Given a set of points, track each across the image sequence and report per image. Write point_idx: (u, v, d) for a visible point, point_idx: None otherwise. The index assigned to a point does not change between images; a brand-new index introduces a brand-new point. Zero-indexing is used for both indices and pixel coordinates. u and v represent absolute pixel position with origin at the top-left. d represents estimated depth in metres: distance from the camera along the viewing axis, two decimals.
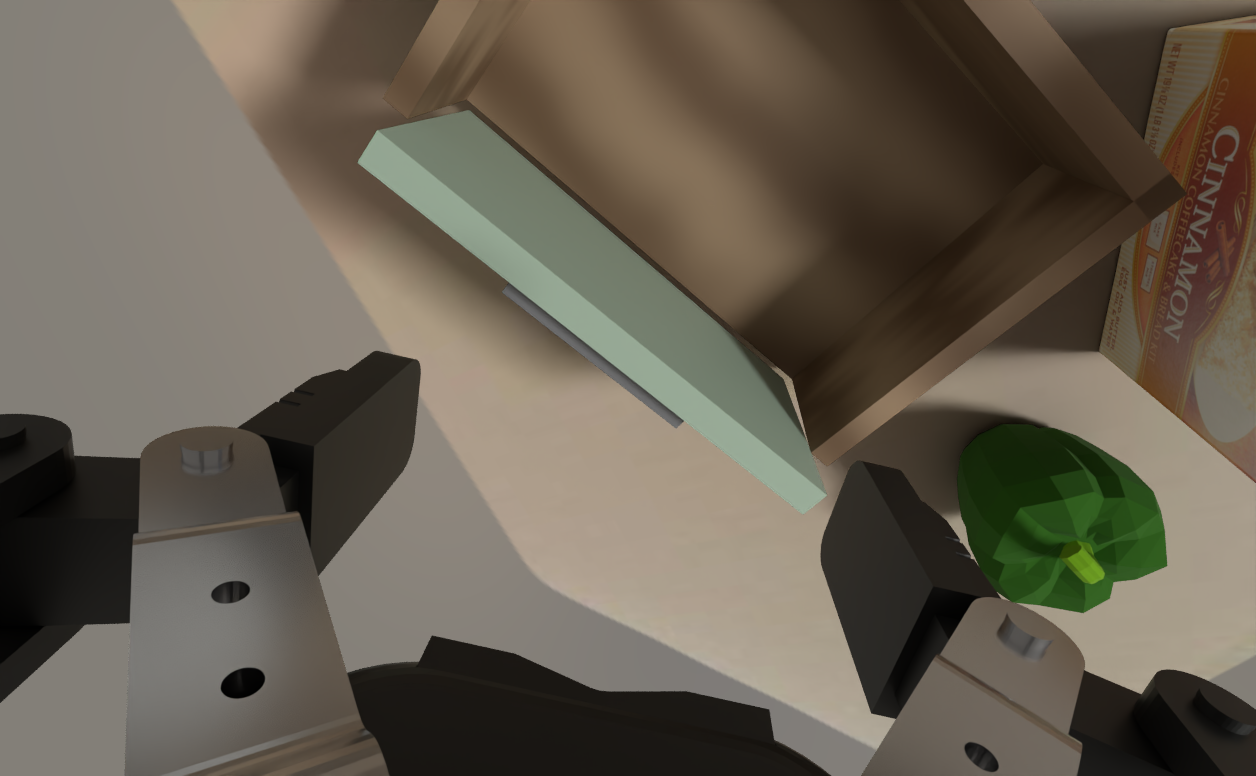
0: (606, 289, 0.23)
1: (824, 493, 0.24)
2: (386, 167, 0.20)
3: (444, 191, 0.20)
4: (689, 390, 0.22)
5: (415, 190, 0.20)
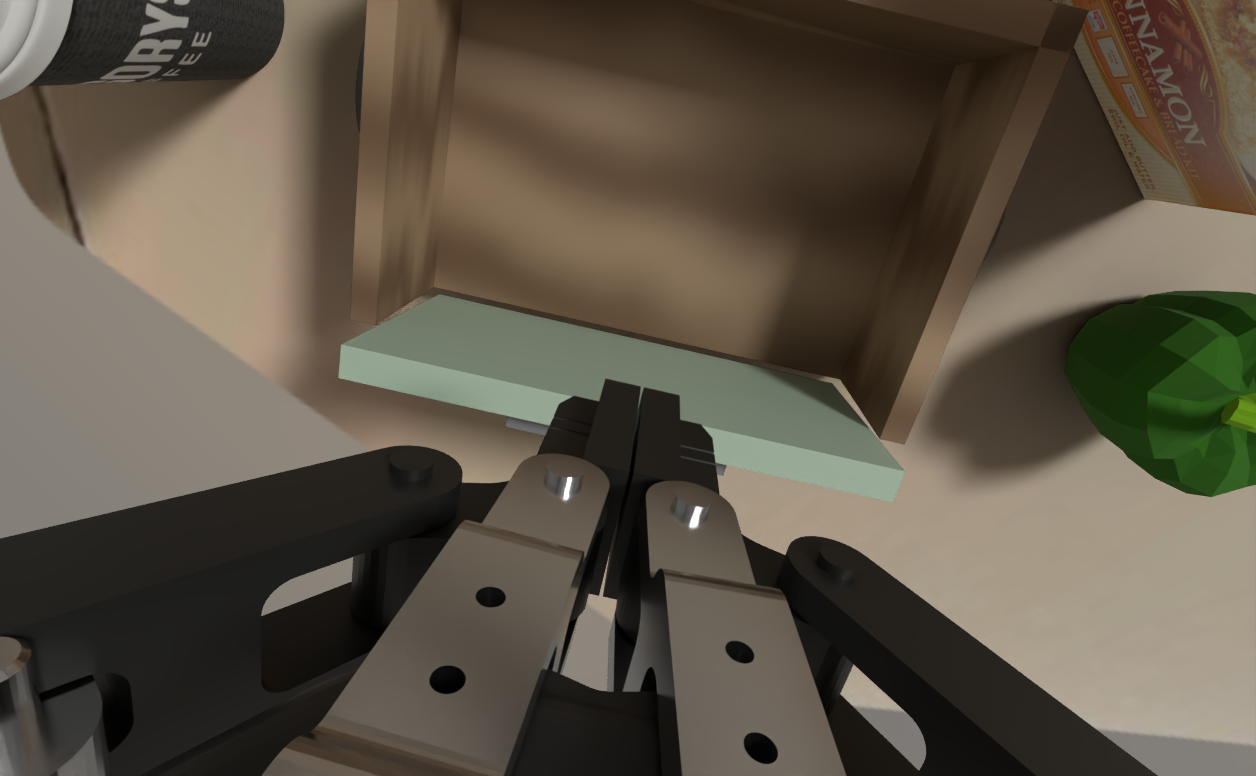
0: (598, 380, 0.24)
1: (901, 471, 0.22)
2: (361, 370, 0.22)
3: (413, 366, 0.22)
4: (709, 432, 0.22)
5: (391, 376, 0.22)
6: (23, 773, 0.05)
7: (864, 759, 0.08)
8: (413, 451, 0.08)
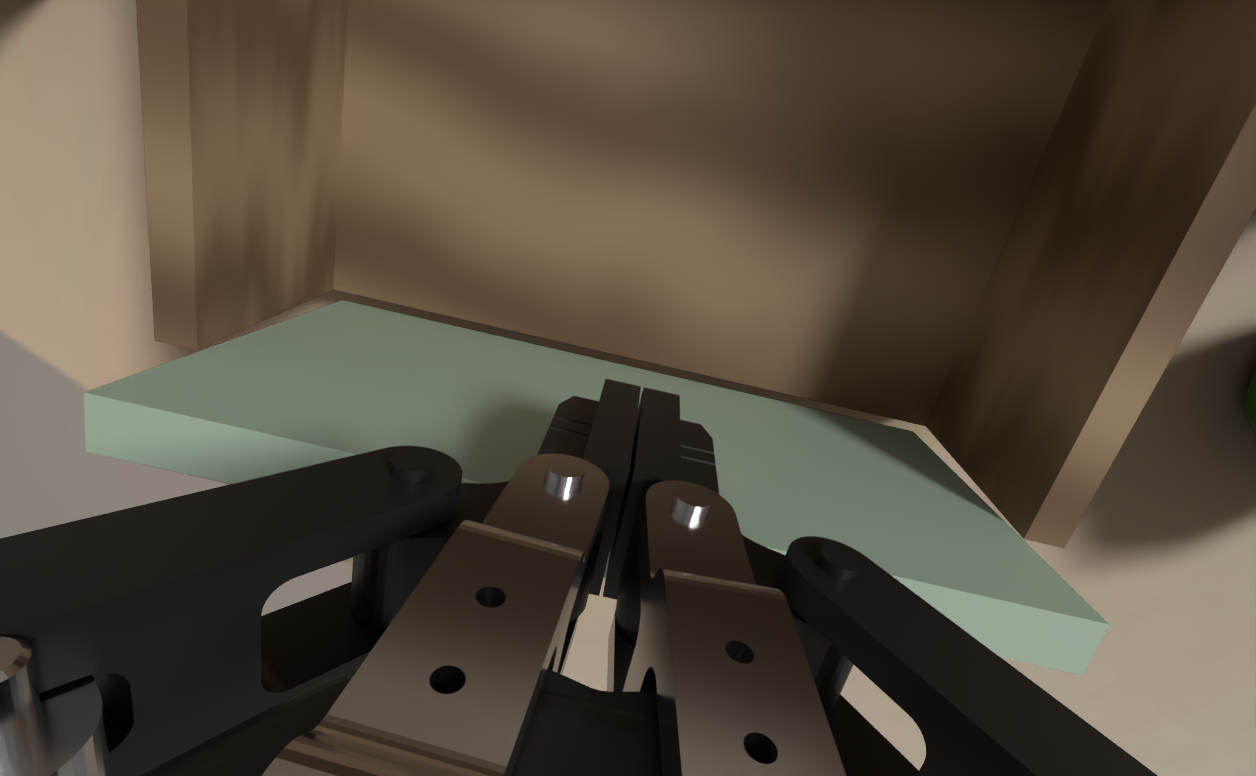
0: None
1: (1102, 623, 0.12)
2: (125, 438, 0.12)
3: (218, 432, 0.12)
4: None
5: (180, 450, 0.12)
6: (23, 773, 0.05)
7: (864, 759, 0.08)
8: (413, 451, 0.08)
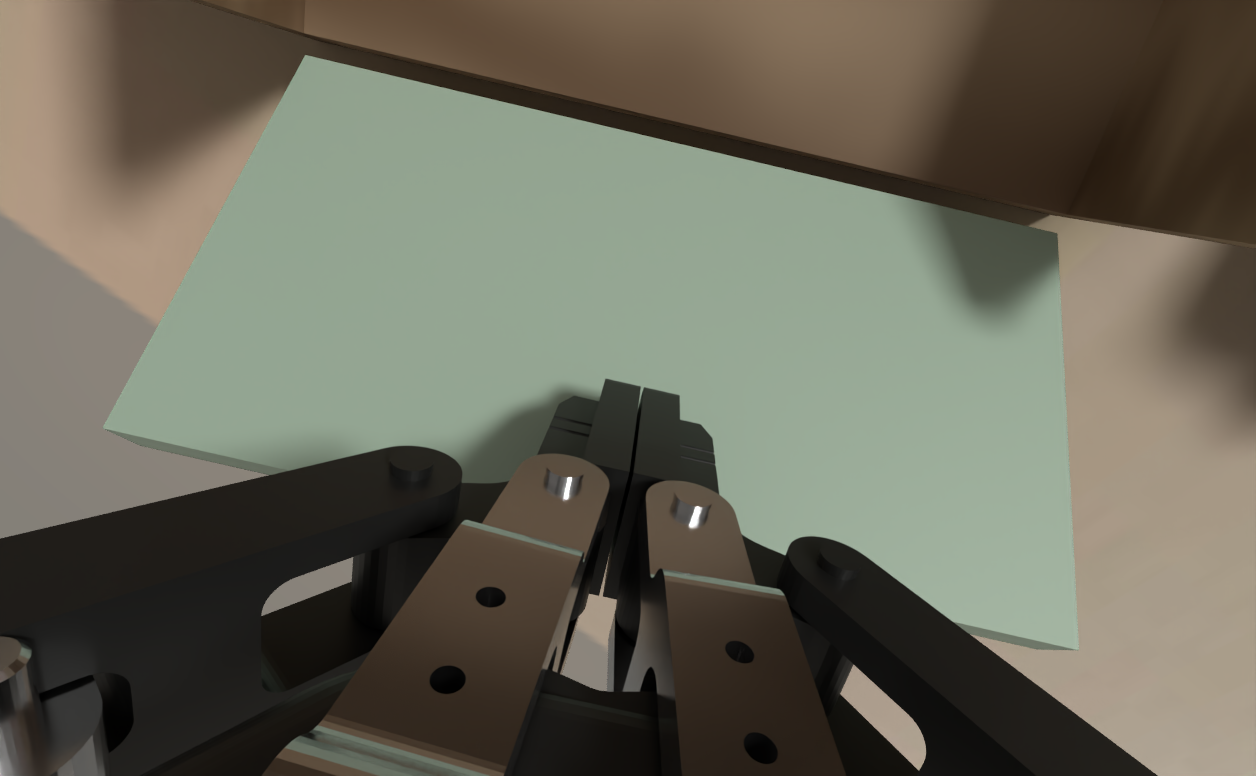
0: None
1: (1072, 647, 0.13)
2: (163, 447, 0.13)
3: (235, 459, 0.13)
4: None
5: (213, 459, 0.13)
6: (23, 773, 0.05)
7: (864, 759, 0.08)
8: (413, 451, 0.08)
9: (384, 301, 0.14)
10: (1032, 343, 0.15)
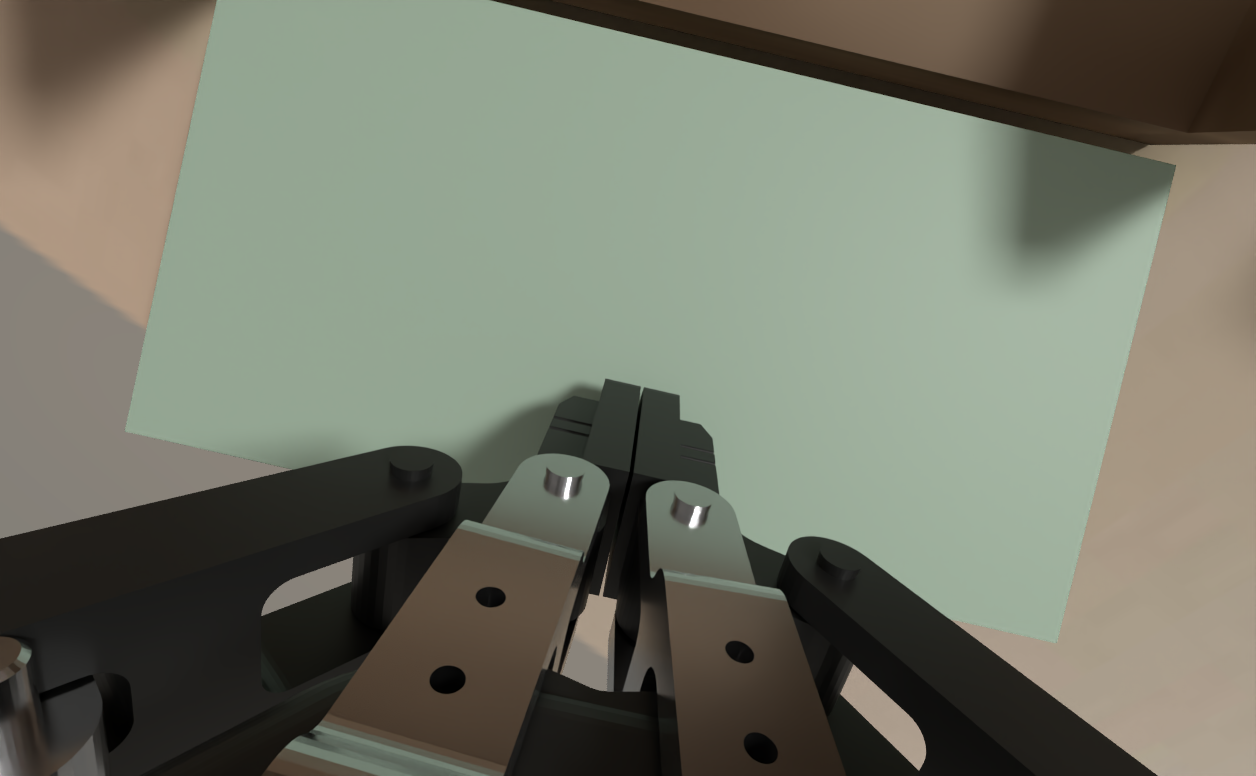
0: None
1: (1050, 640, 0.13)
2: None
3: (252, 458, 0.13)
4: None
5: None
6: (23, 773, 0.05)
7: (864, 759, 0.08)
8: (413, 451, 0.08)
9: (369, 286, 0.13)
10: (1099, 319, 0.13)
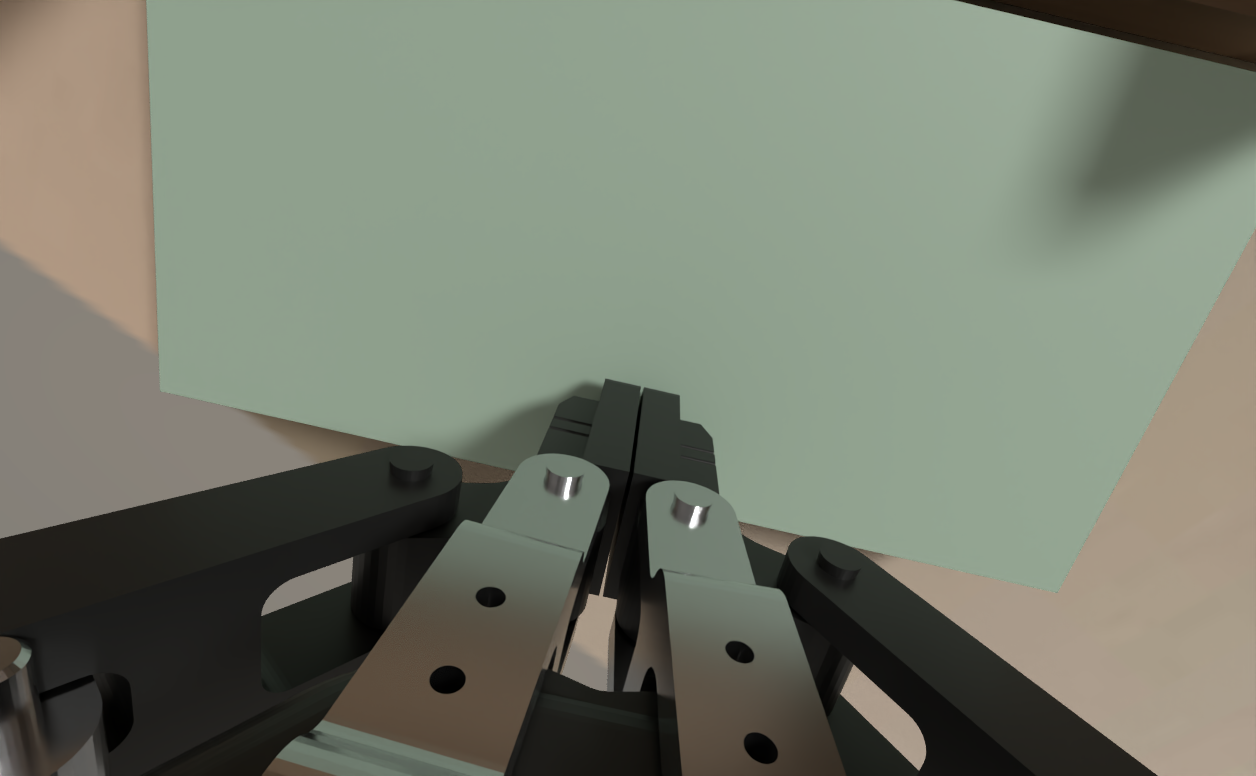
0: (581, 378, 0.13)
1: (1051, 590, 0.14)
2: None
3: (282, 414, 0.14)
4: (748, 519, 0.14)
5: None
6: (24, 773, 0.05)
7: (864, 759, 0.08)
8: (413, 451, 0.08)
9: (368, 249, 0.12)
10: (1180, 282, 0.12)
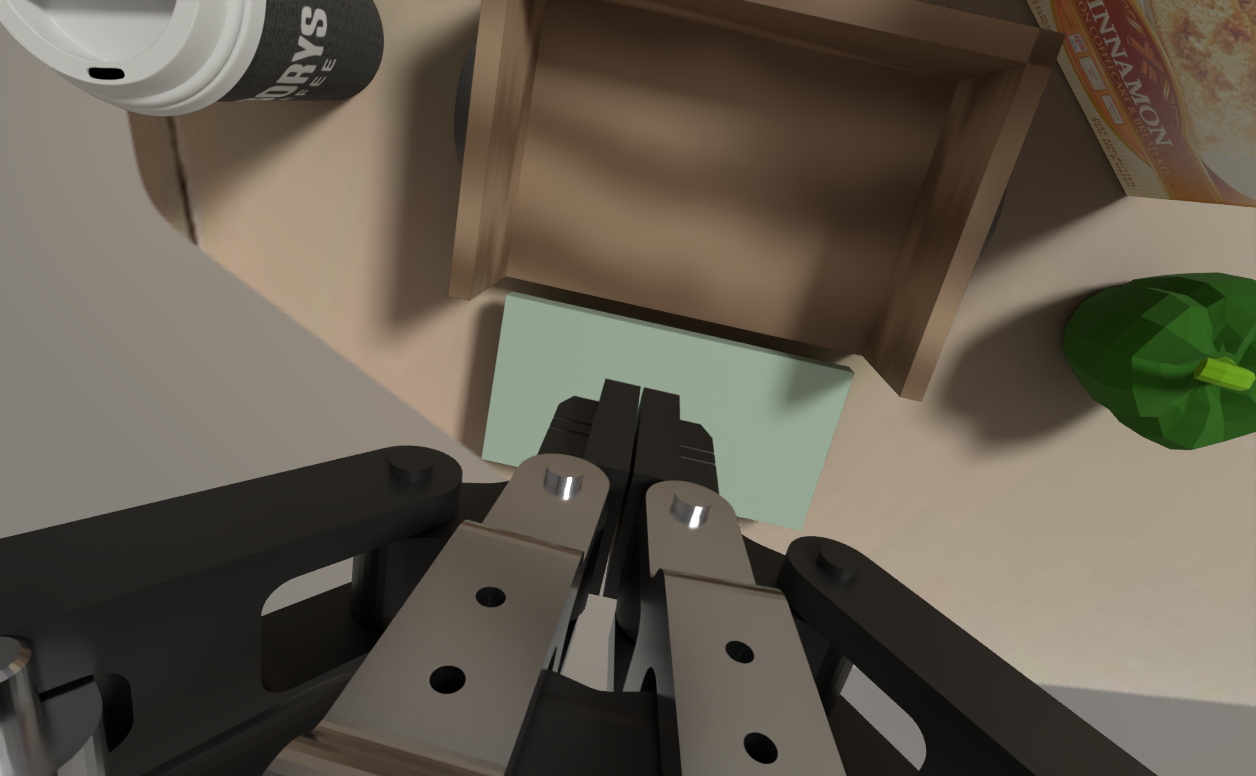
0: None
1: (799, 529, 0.38)
2: None
3: None
4: None
5: None
6: (23, 773, 0.05)
7: (864, 759, 0.08)
8: (413, 451, 0.08)
9: None
10: (822, 426, 0.36)
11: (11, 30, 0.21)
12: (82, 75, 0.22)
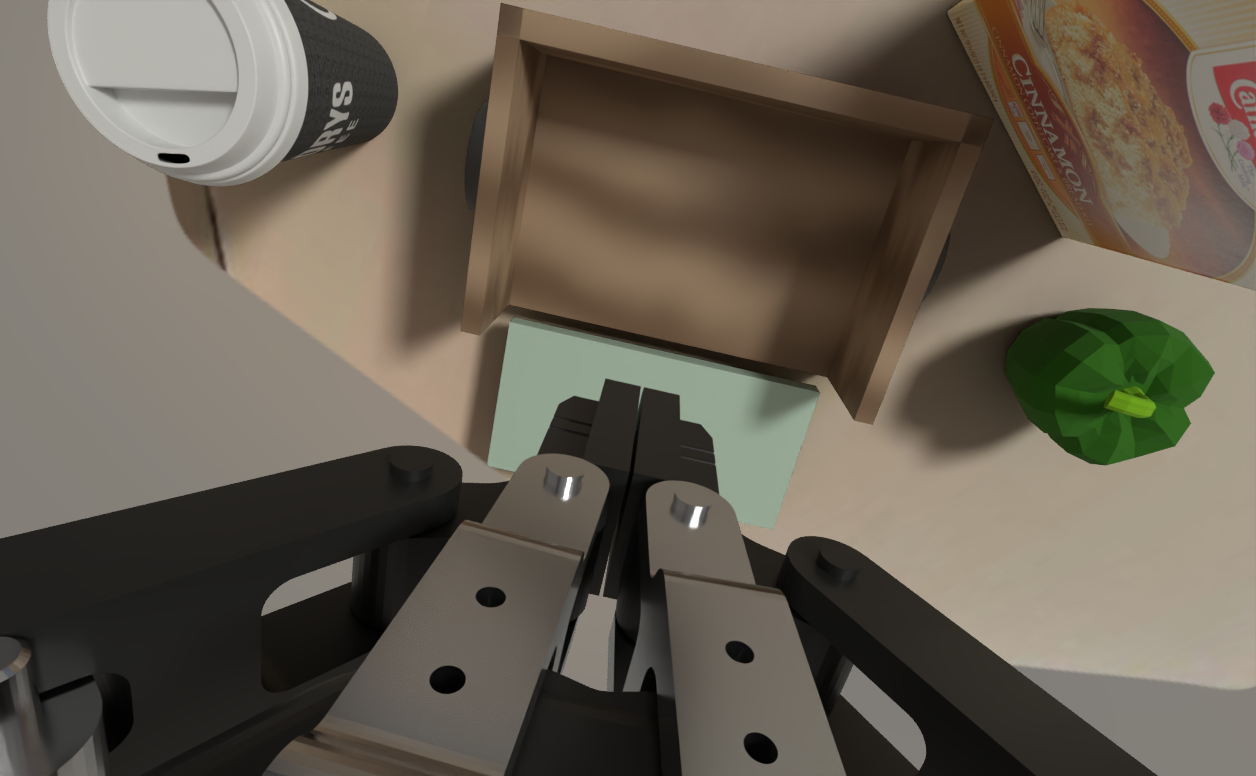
0: None
1: (770, 528, 0.43)
2: None
3: None
4: None
5: None
6: (23, 773, 0.05)
7: (864, 759, 0.08)
8: (413, 451, 0.08)
9: None
10: (791, 438, 0.41)
11: (92, 121, 0.25)
12: (153, 159, 0.25)
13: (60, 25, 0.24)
